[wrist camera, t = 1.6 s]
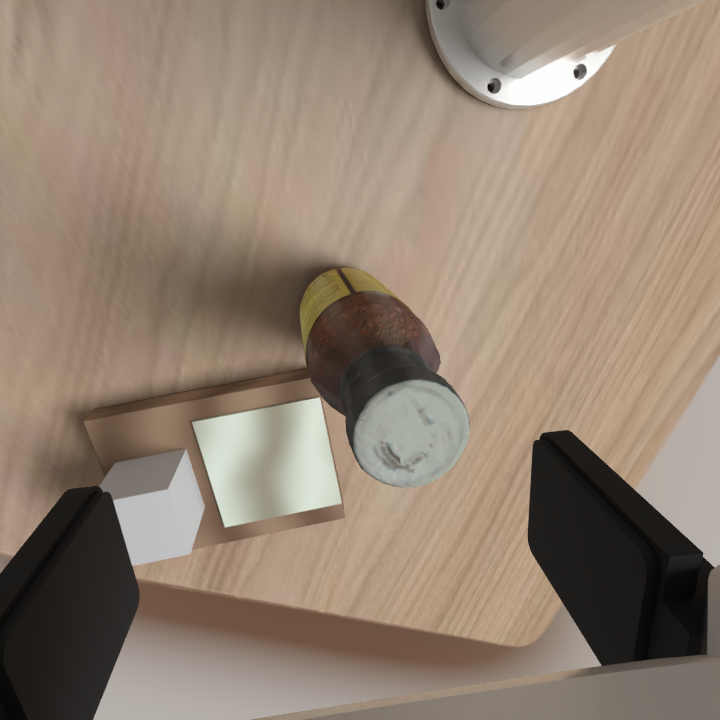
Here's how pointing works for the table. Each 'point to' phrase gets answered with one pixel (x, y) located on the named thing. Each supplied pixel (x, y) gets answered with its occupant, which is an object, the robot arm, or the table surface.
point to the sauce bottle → (381, 378)
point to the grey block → (156, 505)
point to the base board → (236, 452)
